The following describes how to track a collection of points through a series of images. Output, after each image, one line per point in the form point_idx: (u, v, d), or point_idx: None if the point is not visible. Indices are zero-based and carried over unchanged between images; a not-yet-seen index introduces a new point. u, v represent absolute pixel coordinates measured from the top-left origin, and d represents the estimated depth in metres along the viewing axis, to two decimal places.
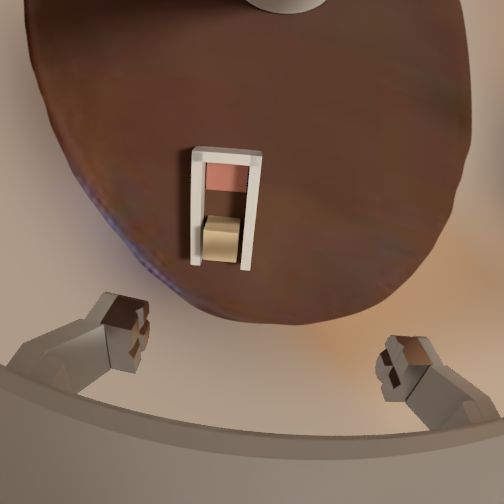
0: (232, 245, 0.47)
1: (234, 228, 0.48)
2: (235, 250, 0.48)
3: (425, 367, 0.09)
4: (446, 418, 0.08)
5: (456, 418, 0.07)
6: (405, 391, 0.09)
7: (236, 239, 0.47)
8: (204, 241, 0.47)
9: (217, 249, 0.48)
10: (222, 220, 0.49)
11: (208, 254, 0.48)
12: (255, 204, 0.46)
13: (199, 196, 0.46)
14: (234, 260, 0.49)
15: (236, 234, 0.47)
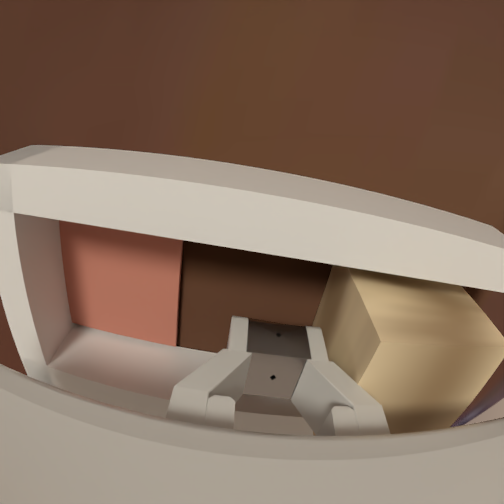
0: (434, 363, 0.07)
1: (357, 322, 0.08)
2: (464, 352, 0.07)
3: (302, 360, 0.08)
4: None
5: (326, 425, 0.07)
6: (285, 386, 0.09)
7: (413, 349, 0.07)
8: None
9: (421, 413, 0.08)
10: (323, 331, 0.11)
11: None
12: (191, 191, 0.07)
13: (166, 403, 0.11)
14: (500, 352, 0.07)
15: (384, 349, 0.07)
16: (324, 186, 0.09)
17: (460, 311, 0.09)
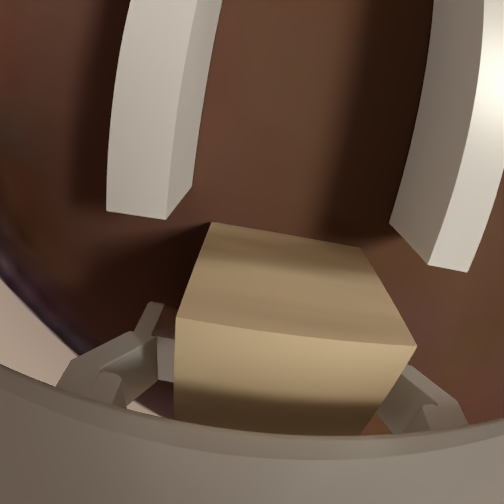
0: (358, 405, 0.07)
1: (374, 304, 0.07)
2: (360, 425, 0.07)
3: None
4: (409, 422, 0.08)
5: (416, 423, 0.07)
6: None
7: (390, 378, 0.07)
8: (182, 383, 0.07)
9: (261, 421, 0.07)
10: (287, 253, 0.09)
11: None
12: None
13: None
14: None
15: (404, 353, 0.06)
16: None
17: None
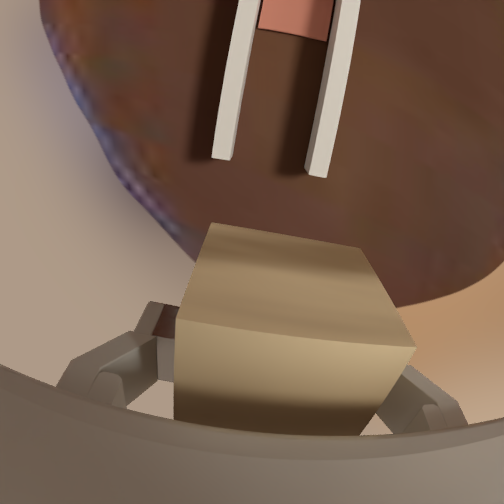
0: (357, 406, 0.07)
1: (374, 304, 0.07)
2: (360, 425, 0.07)
3: None
4: (409, 422, 0.08)
5: (416, 423, 0.07)
6: None
7: (390, 379, 0.07)
8: (182, 384, 0.07)
9: (261, 422, 0.07)
10: (287, 253, 0.09)
11: None
12: (350, 46, 0.21)
13: (251, 20, 0.20)
14: None
15: (404, 354, 0.06)
16: None
17: None
